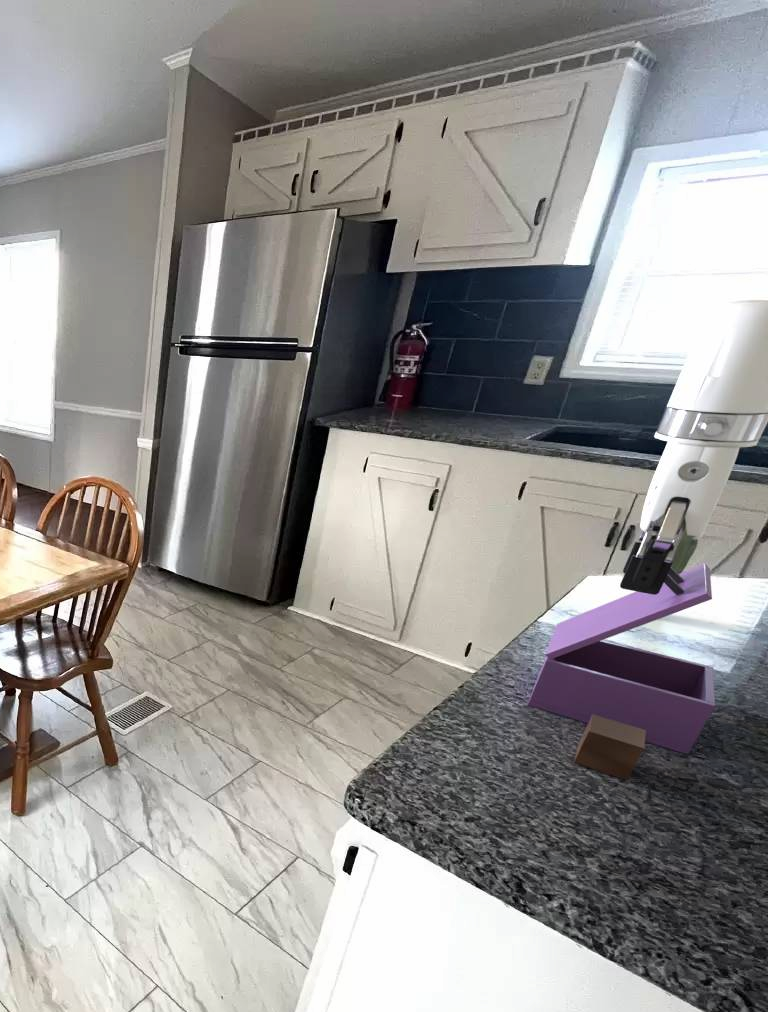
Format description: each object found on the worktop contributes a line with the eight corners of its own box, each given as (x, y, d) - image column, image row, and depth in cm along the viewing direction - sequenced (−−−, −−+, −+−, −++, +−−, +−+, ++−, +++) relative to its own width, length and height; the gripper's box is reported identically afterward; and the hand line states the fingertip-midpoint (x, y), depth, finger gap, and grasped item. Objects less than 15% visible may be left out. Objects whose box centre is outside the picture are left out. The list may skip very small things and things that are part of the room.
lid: (710, 568, 74) (672, 531, 75) (712, 599, 67) (671, 557, 68) (561, 628, 86) (530, 595, 87) (549, 659, 79) (516, 623, 80)
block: (629, 761, 71) (646, 730, 70) (627, 780, 69) (644, 748, 67) (577, 744, 74) (592, 713, 72) (573, 762, 72) (588, 730, 70)
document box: (687, 712, 79) (713, 666, 76) (687, 754, 72) (715, 706, 69) (540, 671, 89) (557, 629, 86) (527, 704, 82) (546, 660, 79)
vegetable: (656, 633, 98) (718, 508, 89) (618, 625, 100) (674, 503, 92) (655, 623, 100) (715, 501, 92) (618, 615, 103) (672, 496, 95)
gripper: (770, 443, 59) (685, 616, 67) (757, 418, 70) (684, 570, 78) (657, 435, 64) (589, 597, 72) (661, 413, 75) (601, 556, 83)
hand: (639, 581), depth 75 cm, fingers closed on lid, 5 cm apart
